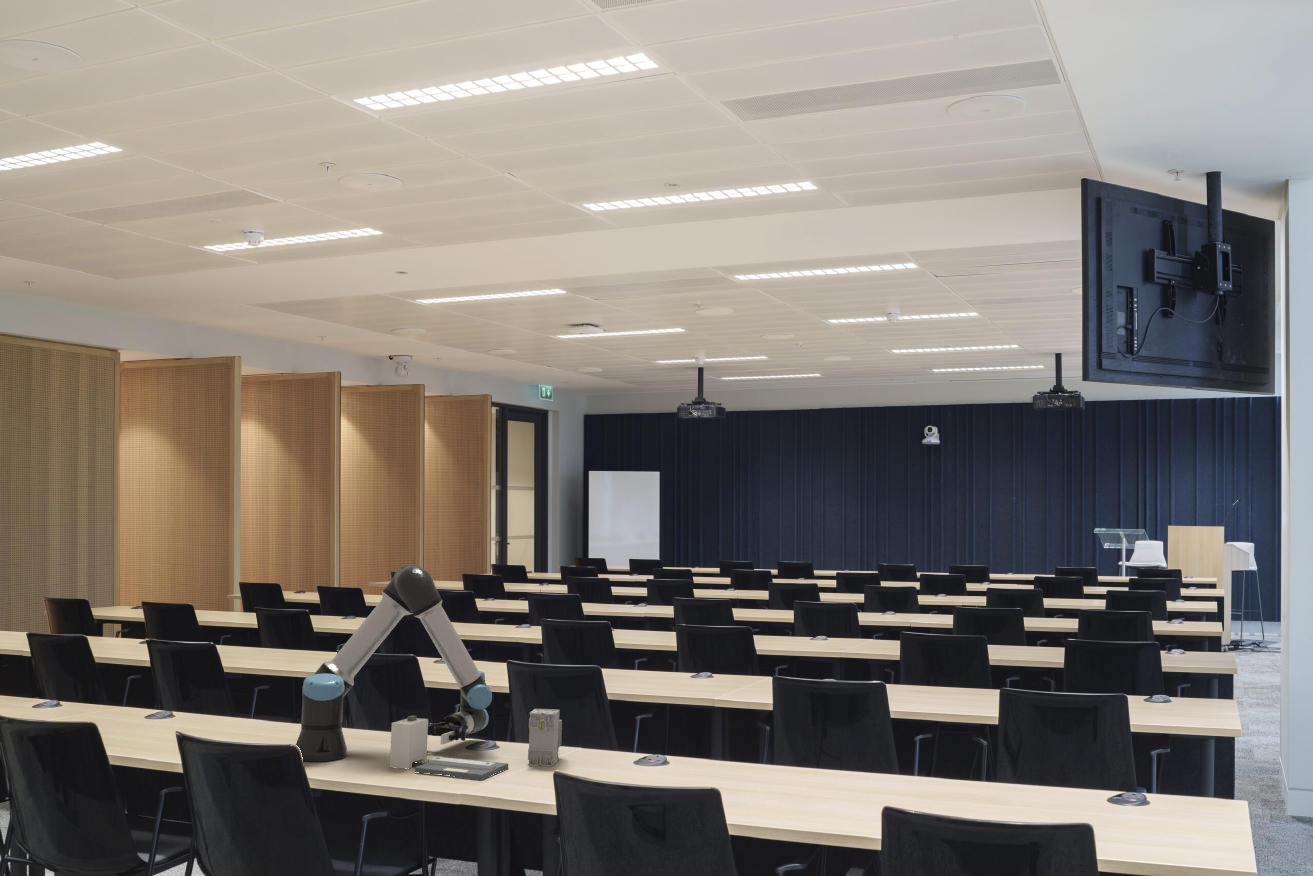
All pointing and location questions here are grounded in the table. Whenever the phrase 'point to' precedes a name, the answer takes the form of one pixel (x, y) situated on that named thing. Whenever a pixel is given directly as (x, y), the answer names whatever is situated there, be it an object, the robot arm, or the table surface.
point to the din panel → (461, 767)
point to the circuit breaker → (544, 736)
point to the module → (408, 742)
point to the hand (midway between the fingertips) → (421, 737)
